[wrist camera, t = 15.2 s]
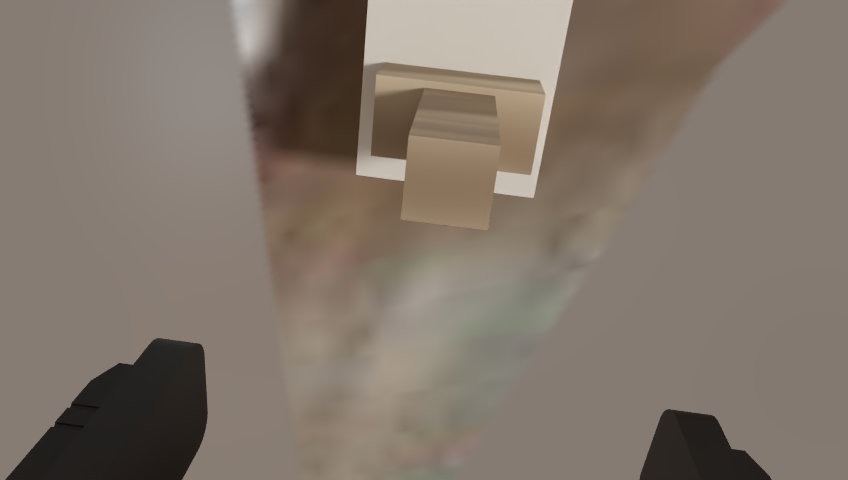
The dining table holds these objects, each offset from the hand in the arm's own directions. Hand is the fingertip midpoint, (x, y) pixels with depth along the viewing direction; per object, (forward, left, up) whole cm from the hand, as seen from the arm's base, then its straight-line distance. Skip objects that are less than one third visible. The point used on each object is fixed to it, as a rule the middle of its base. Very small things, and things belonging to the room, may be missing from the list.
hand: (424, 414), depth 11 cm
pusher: (-1, 0, -16) cm, 16 cm away
